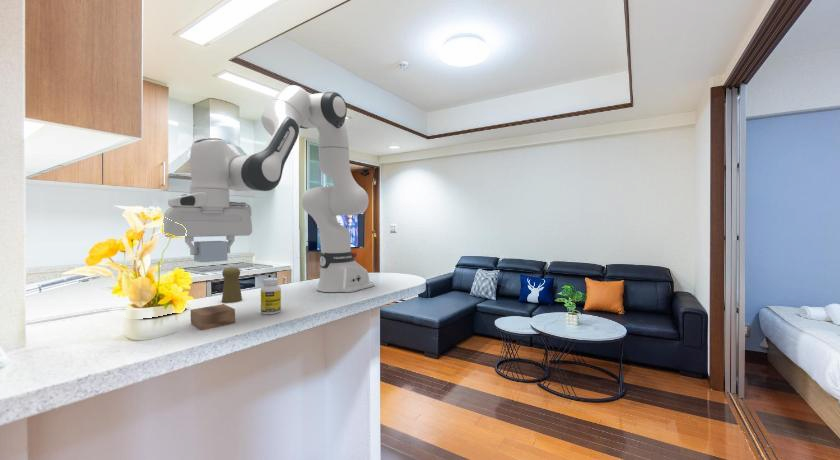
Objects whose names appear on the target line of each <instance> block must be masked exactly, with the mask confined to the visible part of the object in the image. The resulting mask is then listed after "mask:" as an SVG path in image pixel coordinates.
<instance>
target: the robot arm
mask: <svg viewBox="0 0 840 460" xmlns="http://www.w3.org/2000/svg"><path fill="white" fill-rule="evenodd" d="M347 109H348V107H347V103H346V100H345V99H344V98H343V97H342V95H341V93H339V92H335V91H326V92H318V93H311V94H309V93H308V92H307V90H305V88H303V87H302V86H299V85H295V84H292V85H288V86H286V87H285V88H283V89H281V90H280V91H279V92H278V93H277V94H276V95H275V96H274V97H273V98H272V99H271V100H270V101H269V103H268V104H267V105H266V106H265V108H264V109H263V112H262V115H261V124H262V126H263V128H264V130H265V131H266V132H267V133H268V134H269V135H270V136H271V137H270V139H269V140H268V142H267V144H266V146H265V147H264V149H262V150H261V151H258V152H256V153H253V154H247V155H242V154H240V153H238V152H237V151H235V150H234V149H232V147H230V145H228V143H227V141H226V140H225V139H222V138H216V137H215V138H213V137H212V138H210V137H209V138H201V139H197V140H196V141H194V142H193V143H192V144H191V148H190V153H189V173H190V176H191V183H190V186H189V194H187V193H185V194H181V195H180V196H174V197H171V198H169V199H168V201H167V205H168V207H169V208H168V209H166V210H165V212H164V215H163V221H162V224H163V223H164V232H165V233H164V234H166V233H169V234H172V235H175V236H185V233H186V230H187V233H186V234H187V236H185V237H184V242H185V244H186V245H187V246H188V248H189V252H190V254H189V255H190V256H194V255H199V252H198V251H199V248H195V247H194V243H193V242H195V241H194V238H195V237H200V238H201V237H207V238H208V237H225V238H226V240H227V254H231V247H232V245H233V243H234V242H235V241H236V239H235V237H239V236H240V237H243V236H244V237H245V236H246V237H247V236H251V234H252V233H253V222H252V207H251V206H250V204H248V203H246V202H241V201H240V202H238V201H237V202H236V201H230V190H231V191H235V192H249V191H259V192H270V191H272V190H274V189H275V188H276V187H277V186H278V185H279V184H280V182H281V180H282V176H283V170H284V167H285V164H286V162H287V160H288V158H289V156H290V154H291V152H292V150H293V147H294V146H295V145H296V142H297V140H298V138H299V134H300V129H303V130H304V129H313V128H314V129H316V128H317V130H318V131H317V132H318V134H319V135H318V168H319V171H320V172H321V173H322V174H324V175H325V176H326V177H328V178H330V179H331V180H332V183H333V186H316V187H312V188H308V189H306V190H304V193H303V194H302V197H301V205H302V208H303V210H304V212H306V213H307V214H308V215H309V216H311V218H313V221H315V223H316V225H317V228H318V231H319V238H320V253H319V265H320V266H319V267H320V271H319V281H318V285H317V287H316V291H318V292H324V293H353V292H356V291H360V290H364V289H368V288H372V287H375V286H376V283H375V282H374V281H370V276H369V272H368V270H367V269H366V268H364V267H363V266H362V265H361V264H360V263H358V262H357V261H356V259H355V258H357V259H358V258H359V252H356V251H354V252H352V249H351V246H352V245H351V232H350V230H349V228H347V227H346V226H344V225H342V224H340V222H339V221H338V219H337V216H354V215H355V216H356V215H360V214H364V213H365V211H366V210H367V209H368V206H369V203H370V201H369V199H370V198H369V194H368V193H367V191H366V190H365V189H364V188H363V187H361V186H360V185H359V184H358V183H357V181H356V180H355V179H354V176H353V174H352V171H351V164H350V152H349V151H350V147H349V146H350V145H349V138H348V137H349V135H348V130H347V126H346V124H345V121H346V117H347V111H348V110H347ZM165 217H166V218H165ZM167 218H168V219H167ZM169 219H170V220H169ZM171 220H172V221H171ZM175 222H177V223H179V224H177V223H175ZM180 224H182V225H183V226H184V227H185V228H186V230H185V228H184V227H183V226H182V225H180ZM164 234H163V235H164ZM169 234H168V235H169ZM168 235H164V237H166V238H171V237H170V236H172V235H169V236H168ZM226 240H225V241H226Z"/></svg>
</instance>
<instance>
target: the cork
mask: <svg viewBox="0 0 840 460" xmlns="http://www.w3.org/2000/svg"><path fill="white" fill-rule="evenodd" d="M221 274H222V277H223V278H224V279H223V287H222V296H221V303H222V304H233V303H239V302H241V301H243V296H242V289H241V285H240V279H239V277H240V275H241V269H239V268H238V267H226V268H224V269H223V271H222V273H221Z"/></svg>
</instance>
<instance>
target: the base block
mask: <svg viewBox="0 0 840 460" xmlns="http://www.w3.org/2000/svg"><path fill="white" fill-rule="evenodd" d="M190 324H191V325H192V326H194V327H196V329H198V330H200V331H203V330H208V329H213V328H218V327H223V326H228V325H232V324H236V309H235V308H233V307H231V306H229V305H227V304H226V303H222V304H216V305H211V306H204V307H199V308H191V309H190Z"/></svg>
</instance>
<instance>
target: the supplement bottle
mask: <svg viewBox="0 0 840 460" xmlns="http://www.w3.org/2000/svg"><path fill="white" fill-rule="evenodd" d="M262 283H263V284H262V285H263V286H262V287H261V288H260V313H261V314H262V315H269V316H270V315H275V314H279V313H280V312H281V311H282V297H281V296H282V291H281V289H282V288H281V286H280V285H278V284H279V278H277V277H267V278H263V279H262Z"/></svg>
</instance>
